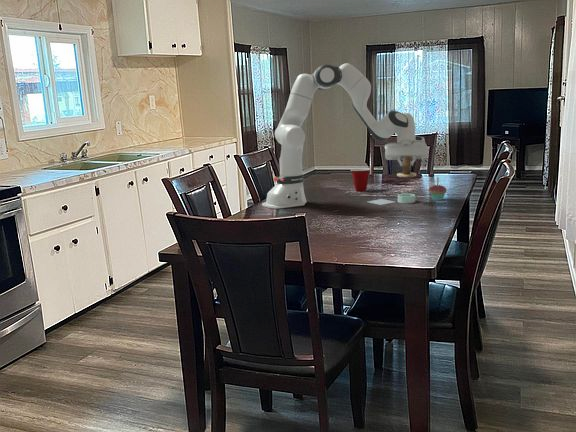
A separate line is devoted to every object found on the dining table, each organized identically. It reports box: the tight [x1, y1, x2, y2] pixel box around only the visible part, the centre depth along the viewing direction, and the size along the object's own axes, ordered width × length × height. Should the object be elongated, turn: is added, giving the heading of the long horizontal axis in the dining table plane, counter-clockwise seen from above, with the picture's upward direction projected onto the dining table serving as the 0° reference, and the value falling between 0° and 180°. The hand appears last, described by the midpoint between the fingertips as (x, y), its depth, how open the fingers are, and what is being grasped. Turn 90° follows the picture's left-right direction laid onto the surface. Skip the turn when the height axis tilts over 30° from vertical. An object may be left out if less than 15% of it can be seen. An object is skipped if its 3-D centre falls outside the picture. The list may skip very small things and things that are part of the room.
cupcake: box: [428, 176, 448, 201], centre depth 277 cm, size 9×8×12 cm
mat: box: [367, 198, 396, 206], centre depth 277 cm, size 10×10×1 cm
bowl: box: [397, 192, 416, 204], centre depth 275 cm, size 8×8×4 cm
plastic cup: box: [350, 168, 371, 192], centre depth 308 cm, size 11×11×12 cm
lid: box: [396, 157, 417, 178], centre depth 272 cm, size 9×9×9 cm
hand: (406, 165), depth 271 cm, fingers closed on lid, 3 cm apart
